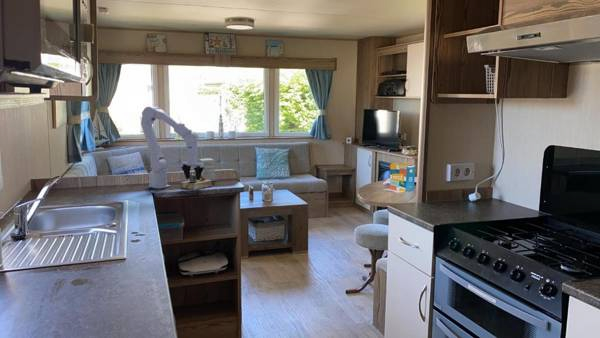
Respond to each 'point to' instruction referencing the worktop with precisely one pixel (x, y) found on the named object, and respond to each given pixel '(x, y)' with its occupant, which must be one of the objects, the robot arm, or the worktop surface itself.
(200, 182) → the hitch block
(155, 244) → the worktop surface
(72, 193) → the worktop surface
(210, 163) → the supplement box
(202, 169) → the robot arm
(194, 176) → the steel peg
